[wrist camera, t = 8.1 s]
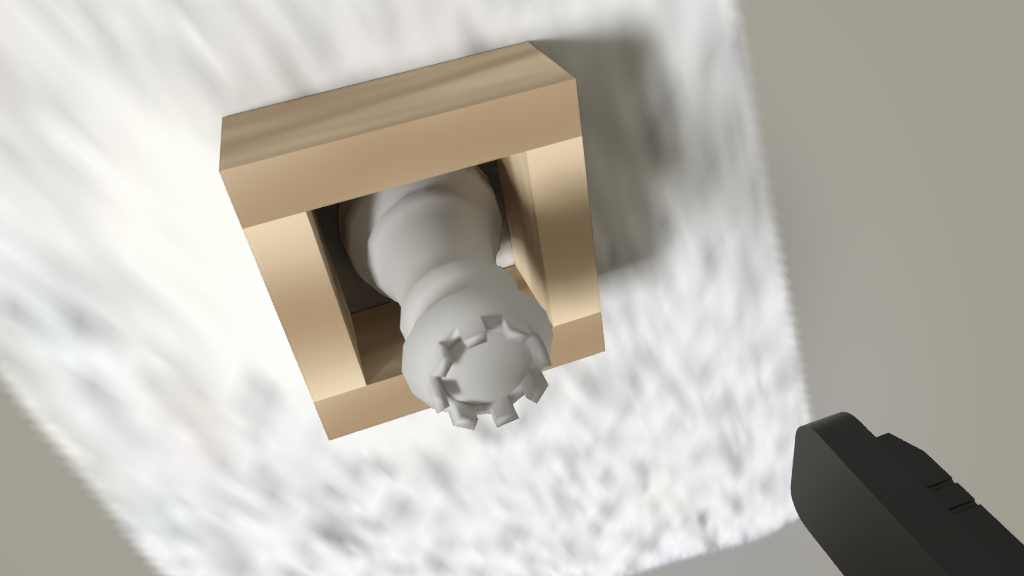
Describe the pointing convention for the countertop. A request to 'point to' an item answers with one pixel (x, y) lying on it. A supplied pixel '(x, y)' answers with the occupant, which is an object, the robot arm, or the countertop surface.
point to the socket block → (398, 161)
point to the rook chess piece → (451, 294)
